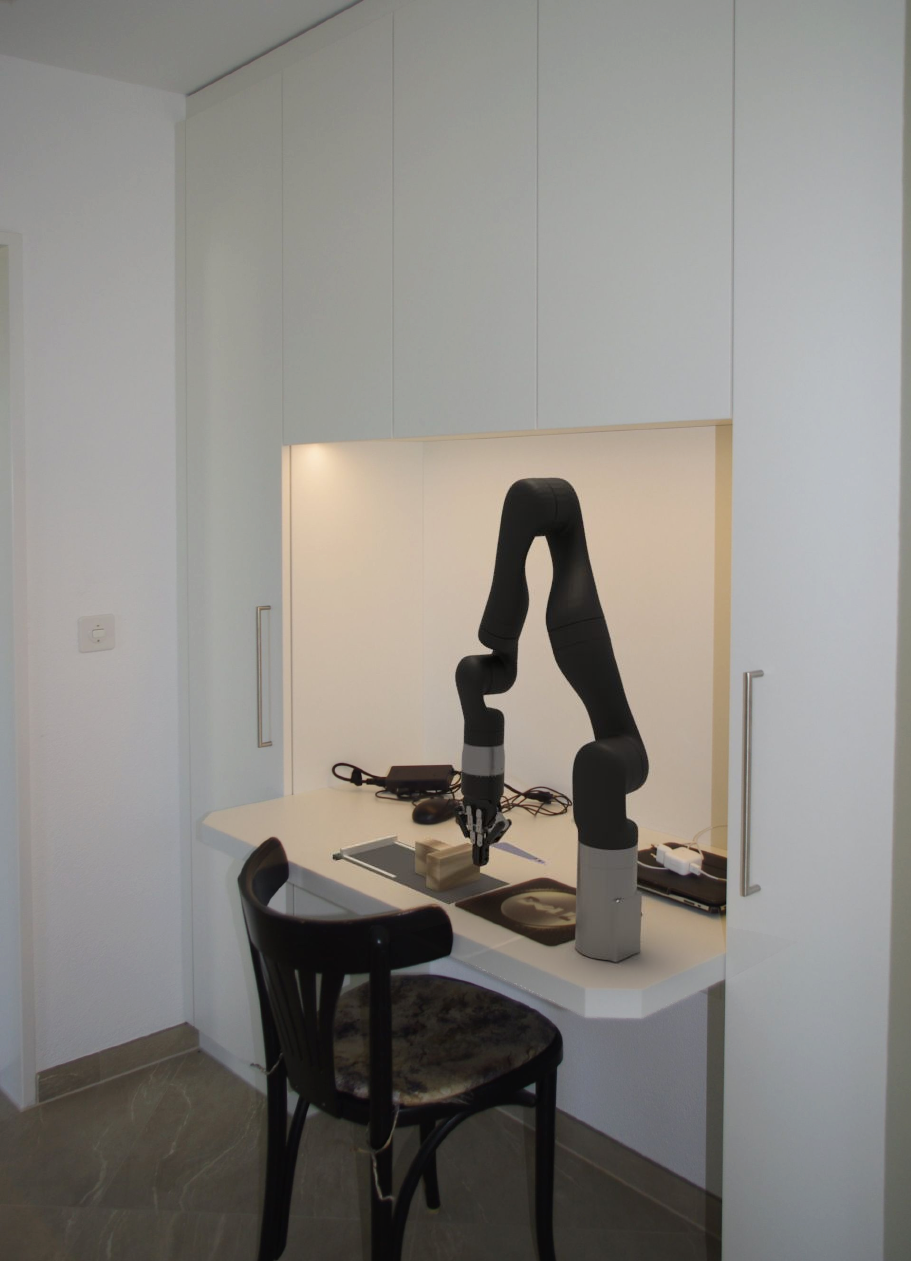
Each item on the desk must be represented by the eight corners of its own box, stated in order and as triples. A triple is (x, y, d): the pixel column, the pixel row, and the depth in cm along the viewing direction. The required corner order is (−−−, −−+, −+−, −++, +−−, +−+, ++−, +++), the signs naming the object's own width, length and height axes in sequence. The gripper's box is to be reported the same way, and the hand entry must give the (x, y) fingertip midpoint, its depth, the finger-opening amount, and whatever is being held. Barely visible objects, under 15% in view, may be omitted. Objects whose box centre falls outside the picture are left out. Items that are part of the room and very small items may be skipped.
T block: (479, 879, 183) (480, 847, 182) (439, 892, 176) (439, 859, 175) (441, 864, 190) (442, 834, 190) (401, 876, 183) (401, 844, 183)
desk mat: (509, 888, 180) (510, 875, 180) (448, 908, 170) (448, 895, 170) (392, 843, 205) (392, 832, 205) (332, 858, 195) (332, 847, 195)
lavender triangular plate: (505, 840, 206) (548, 861, 193) (505, 845, 206) (548, 866, 193) (474, 846, 202) (516, 868, 189) (474, 850, 202) (516, 873, 189)
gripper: (525, 772, 170) (522, 870, 172) (472, 757, 180) (469, 850, 182) (494, 779, 165) (491, 880, 167) (441, 764, 175) (439, 859, 177)
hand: (480, 864), depth 174 cm, fingers closed
